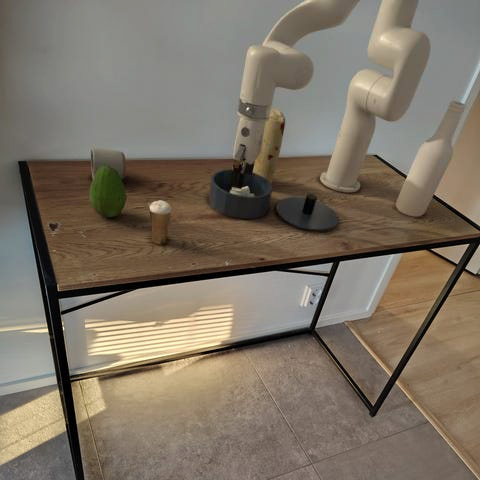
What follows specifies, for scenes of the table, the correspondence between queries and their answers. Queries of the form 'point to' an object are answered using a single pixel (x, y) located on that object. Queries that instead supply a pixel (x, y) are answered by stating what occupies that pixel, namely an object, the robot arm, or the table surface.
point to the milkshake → (159, 220)
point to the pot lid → (307, 213)
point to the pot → (240, 204)
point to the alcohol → (430, 165)
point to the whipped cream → (242, 191)
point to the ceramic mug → (108, 160)
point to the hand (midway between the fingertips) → (241, 179)
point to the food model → (270, 145)
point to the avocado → (107, 192)
